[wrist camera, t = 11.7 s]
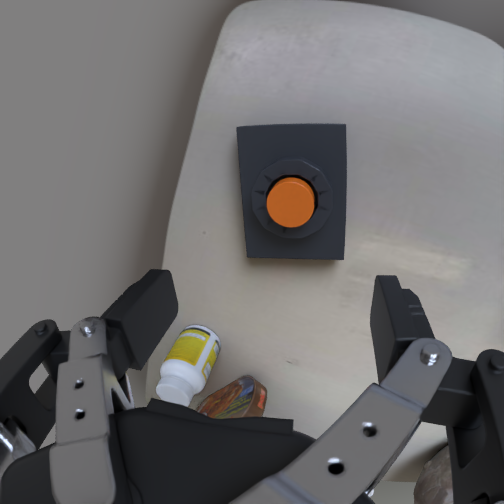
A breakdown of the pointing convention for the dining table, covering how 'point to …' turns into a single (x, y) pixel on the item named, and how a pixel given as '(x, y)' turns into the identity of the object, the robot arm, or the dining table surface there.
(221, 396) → the tin
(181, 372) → the supplement bottle
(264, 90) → the dining table surface
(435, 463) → the bowl
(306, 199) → the button
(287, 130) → the button base
